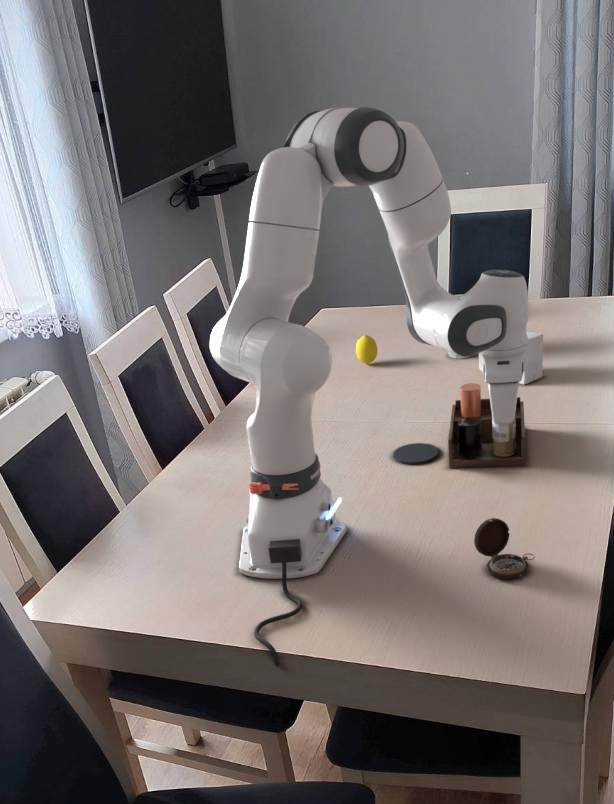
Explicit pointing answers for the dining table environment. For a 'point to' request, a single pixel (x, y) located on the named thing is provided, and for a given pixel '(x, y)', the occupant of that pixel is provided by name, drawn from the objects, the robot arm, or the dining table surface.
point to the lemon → (366, 349)
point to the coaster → (415, 453)
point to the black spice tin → (470, 437)
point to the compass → (499, 550)
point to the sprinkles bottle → (504, 440)
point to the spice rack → (486, 437)
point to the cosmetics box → (533, 358)
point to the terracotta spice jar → (470, 400)
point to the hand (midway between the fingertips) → (503, 426)
